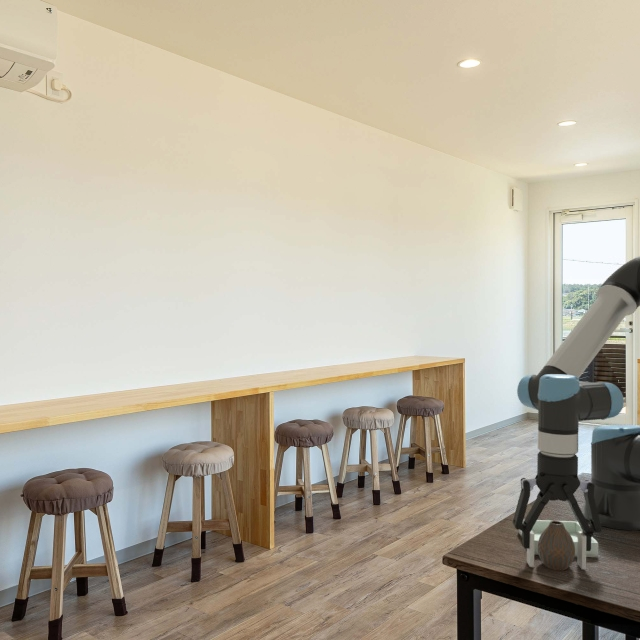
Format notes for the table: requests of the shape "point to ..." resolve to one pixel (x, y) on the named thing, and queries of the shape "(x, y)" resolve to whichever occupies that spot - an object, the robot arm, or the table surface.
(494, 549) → the table surface
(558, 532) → the vase
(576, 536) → the tray
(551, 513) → the table surface
